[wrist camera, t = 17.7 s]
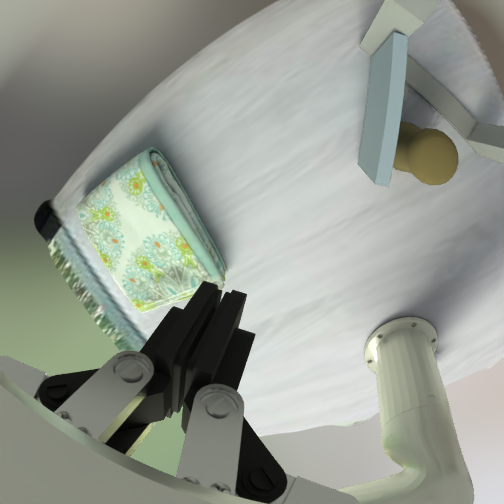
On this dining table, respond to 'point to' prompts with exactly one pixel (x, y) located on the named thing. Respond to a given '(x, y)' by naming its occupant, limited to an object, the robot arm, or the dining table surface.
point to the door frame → (406, 22)
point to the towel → (150, 233)
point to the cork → (425, 154)
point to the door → (384, 109)
